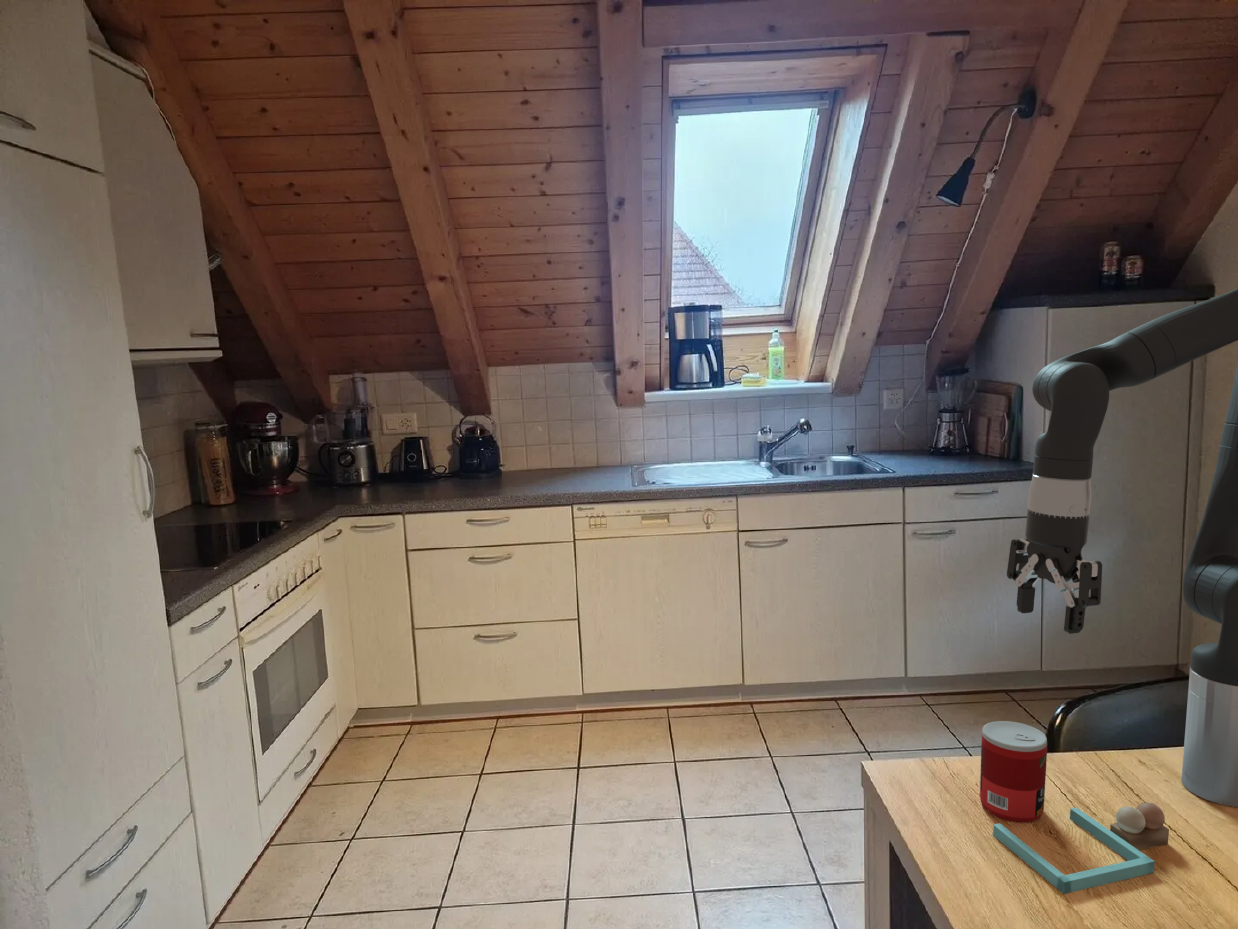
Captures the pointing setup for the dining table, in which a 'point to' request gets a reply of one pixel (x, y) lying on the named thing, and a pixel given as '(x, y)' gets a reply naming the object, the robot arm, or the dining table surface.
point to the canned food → (1013, 771)
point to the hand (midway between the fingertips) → (1047, 622)
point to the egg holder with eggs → (1141, 826)
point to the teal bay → (1089, 878)
